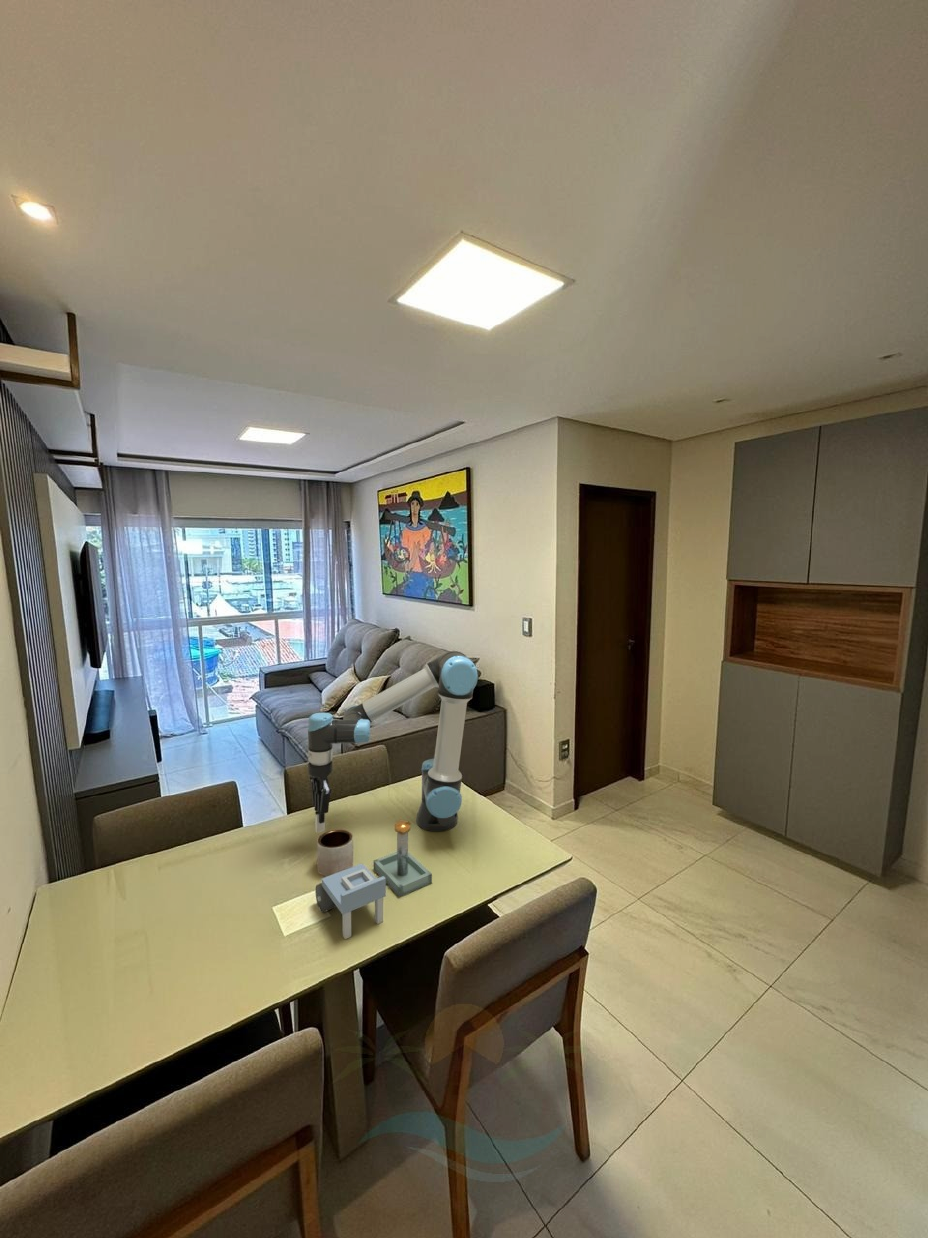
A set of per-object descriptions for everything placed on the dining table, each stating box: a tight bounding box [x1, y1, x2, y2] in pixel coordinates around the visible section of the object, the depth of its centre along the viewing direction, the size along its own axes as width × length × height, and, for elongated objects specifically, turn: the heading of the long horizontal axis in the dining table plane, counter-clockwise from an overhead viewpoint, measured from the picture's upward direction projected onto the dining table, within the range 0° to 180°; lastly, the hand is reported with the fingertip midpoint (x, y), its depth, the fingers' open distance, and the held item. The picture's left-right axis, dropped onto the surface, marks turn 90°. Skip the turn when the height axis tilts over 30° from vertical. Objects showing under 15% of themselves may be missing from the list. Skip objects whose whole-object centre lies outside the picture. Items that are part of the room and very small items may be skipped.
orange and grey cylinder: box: [394, 819, 411, 876], centre depth 148 cm, size 5×5×16 cm
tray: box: [373, 851, 433, 898], centre depth 149 cm, size 16×11×3 cm
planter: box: [316, 829, 354, 877], centre depth 153 cm, size 11×11×10 cm
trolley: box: [314, 863, 387, 940], centre depth 133 cm, size 18×14×12 cm
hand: (320, 830), depth 161 cm, fingers closed
